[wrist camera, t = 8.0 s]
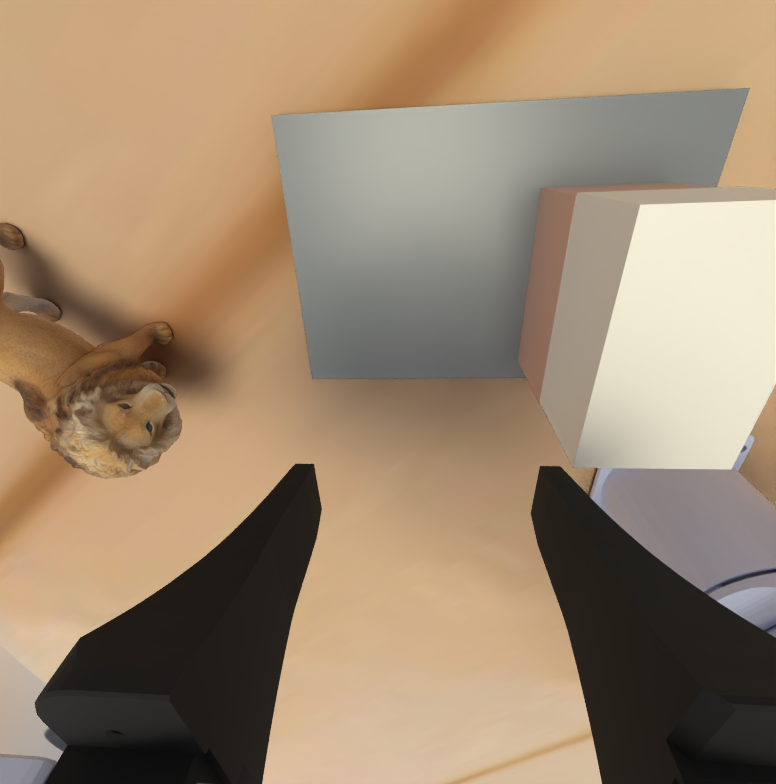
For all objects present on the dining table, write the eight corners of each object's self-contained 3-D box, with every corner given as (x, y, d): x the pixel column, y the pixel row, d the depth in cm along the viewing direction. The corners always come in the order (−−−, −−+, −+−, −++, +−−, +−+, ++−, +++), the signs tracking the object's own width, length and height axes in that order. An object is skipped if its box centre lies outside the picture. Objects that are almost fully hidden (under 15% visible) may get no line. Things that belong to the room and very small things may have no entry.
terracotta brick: (617, 359, 20) (661, 403, 17) (517, 360, 21) (539, 403, 17) (666, 182, 16) (738, 188, 13) (541, 187, 17) (576, 195, 13)
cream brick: (662, 402, 16) (731, 469, 13) (539, 402, 17) (572, 467, 13) (740, 186, 12) (872, 196, 9) (577, 192, 13) (640, 204, 9)
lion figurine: (245, 342, 22) (153, 439, 14) (217, 409, 25) (125, 524, 17) (-39, 194, 19) (-351, 217, 11) (-40, 288, 22) (-295, 359, 14)
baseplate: (643, 368, 21) (653, 376, 20) (316, 370, 23) (312, 378, 22) (731, 91, 15) (749, 88, 14) (278, 117, 17) (271, 115, 16)
